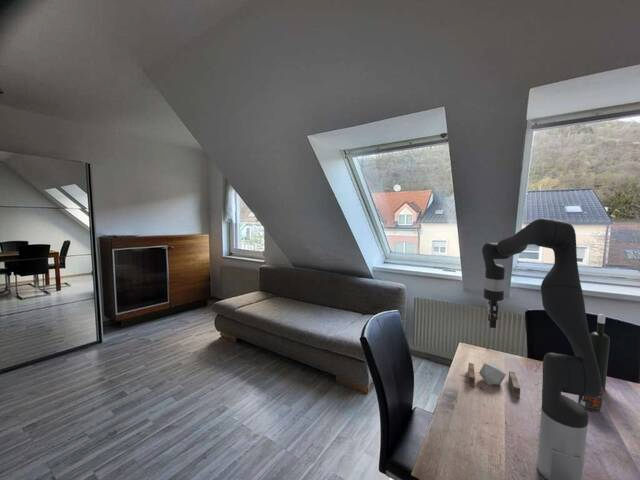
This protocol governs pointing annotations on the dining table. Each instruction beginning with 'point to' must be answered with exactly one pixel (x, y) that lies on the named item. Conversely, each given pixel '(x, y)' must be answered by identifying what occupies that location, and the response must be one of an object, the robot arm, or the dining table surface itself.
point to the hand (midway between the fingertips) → (491, 324)
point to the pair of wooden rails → (512, 380)
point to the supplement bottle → (591, 402)
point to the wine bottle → (601, 347)
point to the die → (492, 374)
